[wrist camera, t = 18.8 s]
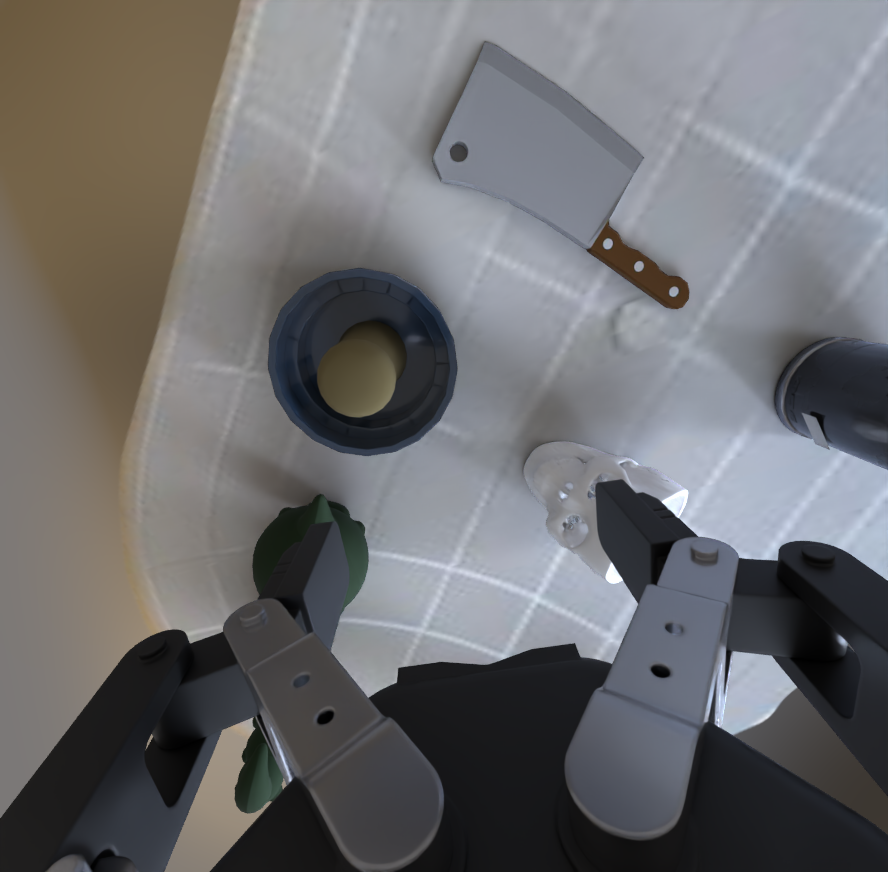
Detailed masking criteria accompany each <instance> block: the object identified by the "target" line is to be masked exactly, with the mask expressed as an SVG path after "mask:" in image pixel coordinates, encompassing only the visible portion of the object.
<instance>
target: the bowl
mask: <svg viewBox="0 0 888 872" xmlns="http://www.w3.org/2000/svg"><path fill="white" fill-rule="evenodd" d="M364 321H377V322H381V323H383V324H386V325H388V326H390V327H391V328H392V329H393V330H394V331H396V332H397V333H398V334H399V336H400V337H401V339H402V341H403V343H404V345H405V349H406V353H407V358H406V367H405V369H404V371H403V373H402V376H401V377H400V378H399V379H398V380H397V381H396V383H395V390H394V392H393V395H392V397H391V399H390V401H389V402H388V403H387V404H386V405H385V406H384V408H383V409H381V410H379V411H378V412H376V413H374V414H372V415H368V416H364V417H350V416H346V415H343V414H341V413H338V412H336V411H335V410H334V409H333V408H331V407H330V406H329V405H328V404H327V403H326V401H325V400H324V398H323V397H322V395H321V393H320V390H319V387H318V383H317V370H318V367H319V364H320V361H321V359H322V357H323V356H324V355H325V354H326V352H327V351H328V350H329V349H330V348H331V347H333V346H335V345H336V344H338V343H339V340H340V338H341V336H342V335H343V334H344V333H345V331H346V330H347V329H348V328H350V327H351V326H353V325H355V324H356V323H359V322H364ZM268 370H269V374H270V377H271V381H272V385H273V389H274V392H275V396H276V398H277V399H278V401H279V403H280V404H281V406H282V407H283V409H284V410H285V412H286V414H287V415H288V417H289V418H290V420H291V421H292V422H293V423H294V424H295V425H296V426H298V427H299V428H300V429H301V430H302V431H303V432H305V433H306V434H307V435H308V436H309V437H310V438H311V439H313V440H314V441H316V442H318V443H321V444H323V445H325V446H327V447H329V448H331V449H334V450H336V451H338V452H342V453H349V454H355V455H362V456H371V455H378V454H385V453H392V452H396V451H398V450H400V449H402V448H404V447H406V446H408V445H411V444H413V443H415V442H417V441H419V440H420V439H421V438H422V437H423V436H424V435H425V434H426V433H427V432H429V431H430V430H431V429H432V428H433V427H434V426H435V425H436V424H437V423H438V422H439V421H440V419H441V417H442V415H443V414H444V412H445V410H446V408H447V406H448V404H449V403H450V401H451V399H452V397H453V392H454V386H455V381H456V376H457V360H456V353H455V345H454V339H453V337H452V335H451V333H450V331H449V329H448V326H447V324H446V322H445V320H444V318H443V316H442V314H441V312H440V310H439V309H438V307H437V306H436V305H435V304H434V303H433V302H432V301H431V300H430V299H429V297H428V296H427V295H426V294H425V293H424V292H423V291H422V290H421V289H420V288H419V287H417V286H415V285H413V284H411V283H410V282H408V281H406V280H404V279H402V278H401V277H399V276H397V275H395V274H390V273H385V272H380V271H374V270H369V269H363V268H355V269H349V270H342V271H335V272H329V273H327V274H325V275H323V276H321V277H319V278H317V279H315V280H313V281H312V282H310V283H308V284H306V285H304V286H302V287H301V288H300V289H299V290H298V291H297V292H296V293H295V294H294V295H293V297H292V298H291V299H290V300H289V301H288V302H287V303H286V304H285V306H284V307H283V308H282V309H281V310H280V313H279V315H278V318H277V320H276V323H275V325H274V327H273V330H272V332H271V335H270V338H269V354H268Z"/></svg>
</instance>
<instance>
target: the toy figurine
mask: <svg viewBox="0 0 888 872" xmlns="http://www.w3.org/2000/svg"><path fill="white" fill-rule="evenodd" d="M331 521H335V522H336V523H337V524H338V527H339V530H340V534H341V538H342V542H343V546H344V550H345V554H346V558H347V562H348V566H349V586H348V589H347V593H346V597H345V600H344V604H343V607H342V611H341V614H342V612H343V611H344V608H345V607H346V606H347V605H348V604H349V603H350V602H351V601H352V600H353V599H354V598H355V596H356V595H357V593H358V592H359V590H360V589H361V587H362V584H363V582H364V580H365V577H366V573H367V569H368V547H367V542H366V539H365V536H364V534H365V527H364V525H363V524H362V523H361V522H360V521H354V520H353V519H352V518H350V514H349V511H348V510H347V509H346V507H345V506H343V505H341V504H339V503H336V502H331V501H327V500H326V498H325V496H324V495H323V494H319V495H317V496H316V497H315V499H314V500H313V501H312V503H310V504H309V505H308V506H302V507H297V508H289V507H288V508H284V509H282V510H281V511H280V513H279V515H278V517H277V518H276V519H275V520H274V521H273V522H272V523H271V524H270V525H269V526H268V527H267V528H266V529H265V530H264V532H263V533H262V535H261V536H260V538H259V539H258V541H257V544H256V547H255V550H254V554H253V565H252V568H253V579H254V582H255V585H256V588H257V591H258V593H259V595H260V594H261V592H262V590H263V588H264V587H265V585H266V583H267V581H268V579H269V578H270V576H271V575H272V572H273V571H274V569H275V567H276V566H277V563H278V562H279V560H280V558H281V556H282V554H283V553H284V552H285V551H286V550H287V549H288V548H290V547H291V546H292V545H293V544H294V543H297V542H302V540H303V538H304V536H305V534H306V532H307V530H308V528H309V526H310V525H311V524H318V523H325V522H331ZM253 727H254V728H256V729H255V730H254V731H253V733H252V734H251V736H250V738H249V739H248V742H247V746H246V748H245V749H244V751H243V754H242V759H243V762H244V763H245V764H244V766H243V767H242V769H241V771H240V773H239V778H238V782H237V785H236V787H235V802H236V805H237V807H238V808H239V809H240V811H242V812H245V813H254V812H256V811H258V810H260V809H261V808H262V807H263V806H264V805H265V804H266V803H267V802H268V801H273V800H274V799H275V798H276V797H277V796H278V795H279V794H280V793H281V791H282V790H283V789H282V785H281V784H282V782H283V775H282V773H281V771H280V769H279V767H278V764H277V762H276V760H275V758H274V756H273V754H272V752H271V750H270V747H269V745H268V743H267V741H266V739H265V737H264V735H263V733H262V731H261V728H260V726H259V724H258V722H257V720H256V717H254V718H253Z"/></svg>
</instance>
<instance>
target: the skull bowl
mask: <svg viewBox="0 0 888 872" xmlns="http://www.w3.org/2000/svg"><path fill="white" fill-rule="evenodd" d="M584 463H586V464H584ZM523 474H524V477H525V480H526V482H527V484H528V486H529V488H530V490H531V492H532V494H533V495H534V497H535V498H536V499H537V501H538V502H539V503H540V504H542V505H543V506H544V507H545V508H546V510H547V511H548V512H549V514H548V518H547V520H546V527H547V530H548V532H549V533H550V535H551V536H552V537H553V538H554V539H555V540H556V542H557V543H558V544H559V545H561V546H562V547H564V548H567V549H568V550H570V551H571V552H573V553H574V554H577V555H578V556H579V557H580V559H581V560H582V561H583V562H584V563H585V564H586V565H587V566H588V567H589V568H590V569H591V570H592V571H593V572H594V573H596V574H597V575H599V576H601V577H602V578H604V579H605V580H606V581H608V582H609V583H612V584H615V583H618V582H620V581H622V580H623V579H622V578H621V576H620V575H619V573H618V572H617V570H616V569H615V567H614V565H613V564H612V562H611V561H610V559H609V558H608V556H607V555H606V553H605V551H604V550H603V548H602V546H601V543H600V540H599V536H598V531H597V515H596V498H594V497H593V496H592V498H588V492H590V493H592V494H593V495H594V496H595V497H596V495H595V491H594V492H592V490H591V488H590V486H592V487H593V488H594V490H595V487H596V484H597V483H598V482H605V481H612V480H619V479H623V480H624V481H625V482H626V483H627V484H628V485H629V486H630V487H631V488H632V489H633V490H634V491H635V492H636V493H640V492H644V493H646V494H649V495H651V496H653V497H655V498H658V499H659V500H660V501H661V502H662V503H663V504H664V505H665V506H666V507H667V508H668V510H669V509H670V510H671V511H672V512H673V513H674V514H675V516H676V517H678V518H679V516H680V514H681V512H682V511H683V509H684V507H685V504H686V502H687V498H688V491H687V490H686V489H685V488H683V487H682V486H680V485H679V484H677V483H676V482H675V481H673V480H672V479H670V478H669V477H667V476H666V475H664V474H662V473H661V472H660V471H658V470H656V469H654V468H651V467H646V466H643V465H640V464H638V463H637V462H635V461H634V460H633V459H631V458H628V457H622V456H616V455H612V454H608V453H605V452H602V451H600V450H597V449H595V448H592V447H590V446H586V445H581V444H577V443H573V442H568V441H560V442H551V443H546V444H543V445H540V446H538V447H537V448H536V449H535V450H534V451H533V452H532V453H531V454H530V456H529V457H528V459H527V461H526V463H525V465H524V470H523ZM599 477H601V479H603V480H601V479H600V478H599ZM577 517H578V518H579V519H578V518H577ZM567 518H569V519H570V520H569V519H567ZM574 518H575V520H576V523H574V524H572V523H571V522H572V521H574V520H573V519H574ZM567 521H568V522H567ZM569 523H571V524H572V525H573V528H572V529H571V527H572V525H570V524H569Z"/></svg>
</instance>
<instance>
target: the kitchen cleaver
mask: <svg viewBox="0 0 888 872" xmlns="http://www.w3.org/2000/svg"><path fill="white" fill-rule="evenodd" d="M454 145H461V146H463V147H464V148H465V149H466V151H467V158H466V159H465V160H464V161H463V162H456V161H454V160H453V159H452V158H451V156H450V149H451V148H452V147H453V146H454ZM643 159H644V157H643V156H642V155H641V154H640V153H638V152H637V151H636V150H635V149H634V148H633V147H631V146H630V145H629V144H628V143H627V142H625V141H624V140H623V139H622V138H621V137H620V136H618V135H617V134H616V133H615V132H614V131H612V130H611V129H610V128H609V127H608V126H607V125H605V124H604V123H603V122H602V121H601V120H599V119H598V118H597V117H596V116H595V115H593V114H592V113H591V112H590V111H588V110H587V109H586V108H585V107H584V106H582V105H581V104H580V103H579V102H578V101H576V100H575V99H574V98H573V97H572V96H570V95H569V94H568V93H567V92H565V91H564V90H562V89H561V88H559V87H558V86H556V85H555V84H553V83H552V82H550V81H549V80H547V79H546V78H544V77H543V76H541V75H540V74H538V73H537V72H535V71H534V70H532V69H531V68H529V67H528V66H526V65H525V64H523V63H522V62H520V61H519V60H517V59H516V58H514V57H513V56H511V55H510V54H508V53H507V52H505V51H504V50H502V49H501V48H499V47H497V46H496V45H493V44H491V43H488V42H485V43H484V45H483V48H482V51H481V54H480V56H479V59H478V62H477V64H476V66H475V68H474V70H473V72H472V74H471V77H470V79H469V81H468V83H467V85H466V87H465V89H464V92H463V94H462V96H461V98H460V100H459V102H458V104H457V106H456V109H455V111H454V113H453V115H452V117H451V119H450V121H449V124H448V126H447V128H446V130H445V132H444V134H443V136H442V139H441V141H440V143H439V145H438V147H437V149H436V151H435V153H434V156H433V160H432V162H433V164H434V166H435V169H436V171H437V174H438V176H439V179H440V181H441V182H444V183H450V184H455V185H460V186H466V187H471V188H474V189H476V190H479V191H482V192H484V193H487V194H489V195H492V196H494V197H497V198H499V199H502V200H504V201H507V202H509V203H511V204H513V205H515V206H517V207H518V208H520V209H522V210H524V211H526V212H528V213H529V214H531V215H533V216H535V217H537V218H539V219H540V220H542V221H544V222H545V223H547V224H548V225H550V226H551V227H553V228H554V229H556V230H557V231H559V232H560V233H562V234H563V235H565V236H566V237H568V238H569V239H571V240H572V241H574V242H575V243H577V244H578V245H580V246H581V247H583V248H585V249H586V250H587V252H589V253H590V254H592V255H593V256H594V257H596V258H597V259H599V260H600V261H601V262H603V263H604V264H606V265H607V266H608V267H610V268H611V269H613V270H614V271H615V272H617V273H618V274H620V275H621V276H622V277H624V278H625V279H627V280H628V281H629V282H631V283H632V284H634V285H635V286H636V287H638V288H639V289H641V290H642V291H643V292H645V293H646V294H648V295H649V296H650V297H652V298H653V299H655V300H656V301H657V302H659V303H660V304H662V305H663V306H664V307H666V308H670V309H679V308H682V307H683V306H684V305H685V303H686V302H687V301H688V299H689V288H688V283H687V282H686V281H685V280H683V279H682V278H681V277H677V276H668V275H666V274H665V273H664V272H662V271H661V270H660V269H659V268H658V266H657V264H656V263H655V262H653V261H652V260H650V259H649V258H648V257H646V256H645V255H644V254H642V253H641V252H640V251H638V250H635V249H632V248H629V247H628V246H627V245H625V244H624V243H623V242H622V240H621V238H620V236H619V234H618V233H617V232H616V231H615V230H613V229H612V228H611V227H609V226H608V225H609V218H610V216H611V215H612V213H613V211H614V209H615V207H616V205H617V204H618V202H619V200H620V198H621V196H622V195H623V193H624V191H625V189H626V187H627V185H628V184H629V182H630V180H631V178H632V176H633V174H634V173H635V171H636V170H637V168H638V166H639V165H640V163H641V162H642V160H643Z"/></svg>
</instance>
